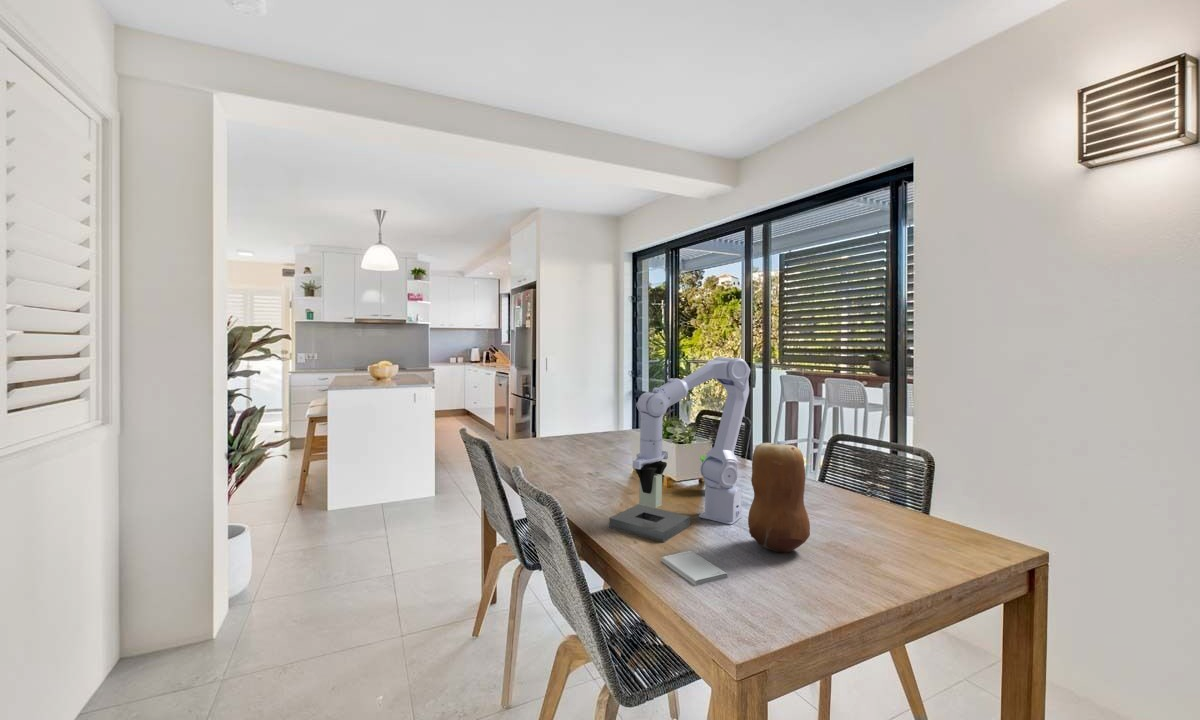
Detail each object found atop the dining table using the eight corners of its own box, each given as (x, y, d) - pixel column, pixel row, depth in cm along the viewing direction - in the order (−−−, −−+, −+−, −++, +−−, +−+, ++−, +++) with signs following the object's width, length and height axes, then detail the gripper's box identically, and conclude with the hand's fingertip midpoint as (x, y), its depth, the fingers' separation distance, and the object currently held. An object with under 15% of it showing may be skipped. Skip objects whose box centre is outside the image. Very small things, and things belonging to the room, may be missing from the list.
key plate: (689, 525, 134) (690, 516, 134) (663, 542, 123) (663, 532, 123) (638, 512, 144) (638, 504, 144) (609, 527, 132) (609, 517, 132)
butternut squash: (781, 535, 128) (783, 436, 127) (822, 556, 116) (825, 447, 115) (735, 542, 123) (737, 439, 122) (772, 566, 111) (775, 451, 110)
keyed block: (645, 501, 136) (645, 470, 135) (661, 505, 133) (662, 473, 132) (639, 504, 133) (639, 472, 133) (655, 508, 130) (656, 475, 130)
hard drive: (728, 572, 105) (691, 549, 116) (695, 580, 102) (661, 556, 113) (727, 580, 105) (691, 556, 116) (695, 589, 102) (661, 563, 113)
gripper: (652, 433, 140) (651, 482, 141) (622, 441, 129) (621, 494, 129) (675, 436, 136) (674, 486, 137) (646, 445, 125) (645, 500, 125)
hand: (650, 491), depth 133 cm, fingers closed on keyed block, 3 cm apart
